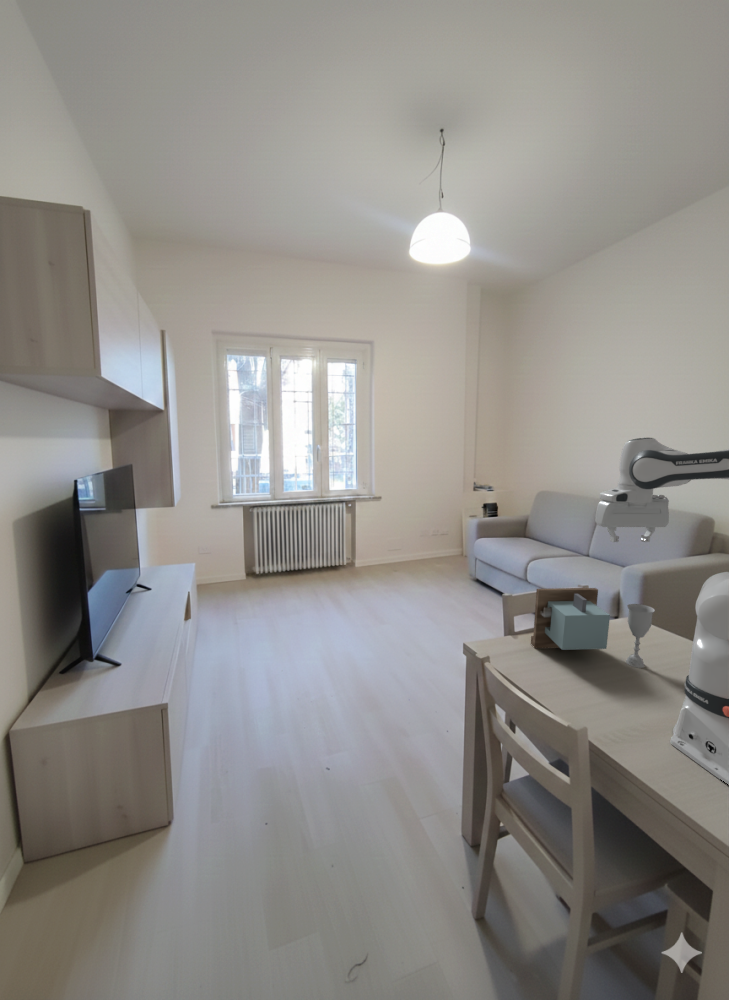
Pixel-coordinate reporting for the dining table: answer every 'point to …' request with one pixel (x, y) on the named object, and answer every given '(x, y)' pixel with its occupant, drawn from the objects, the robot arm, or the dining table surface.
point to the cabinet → (578, 624)
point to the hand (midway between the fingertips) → (629, 541)
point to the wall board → (544, 612)
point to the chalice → (638, 629)
